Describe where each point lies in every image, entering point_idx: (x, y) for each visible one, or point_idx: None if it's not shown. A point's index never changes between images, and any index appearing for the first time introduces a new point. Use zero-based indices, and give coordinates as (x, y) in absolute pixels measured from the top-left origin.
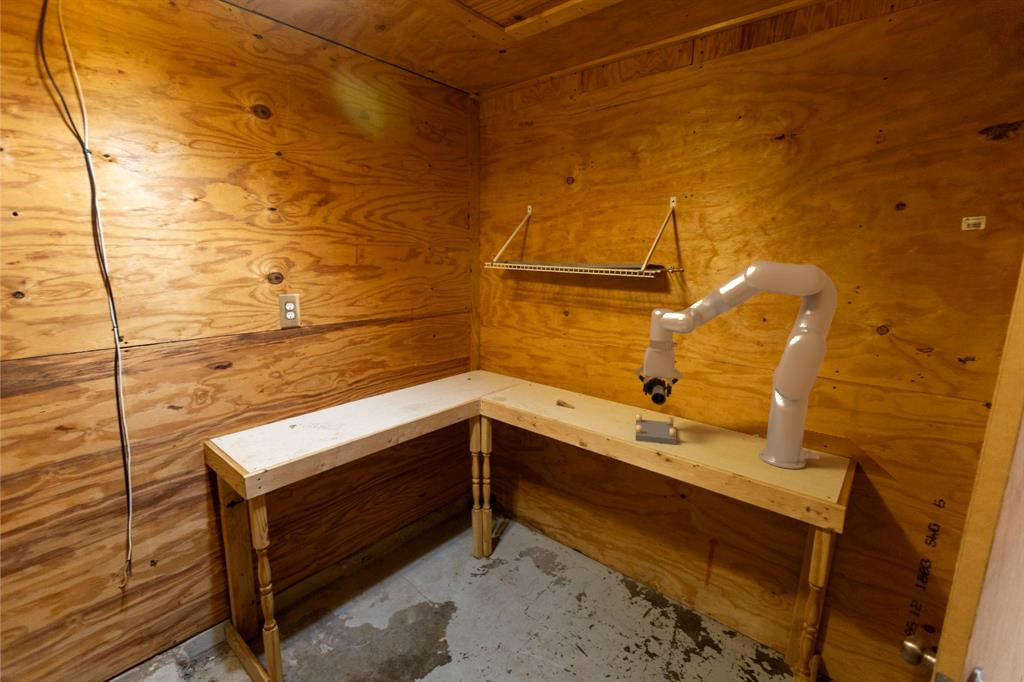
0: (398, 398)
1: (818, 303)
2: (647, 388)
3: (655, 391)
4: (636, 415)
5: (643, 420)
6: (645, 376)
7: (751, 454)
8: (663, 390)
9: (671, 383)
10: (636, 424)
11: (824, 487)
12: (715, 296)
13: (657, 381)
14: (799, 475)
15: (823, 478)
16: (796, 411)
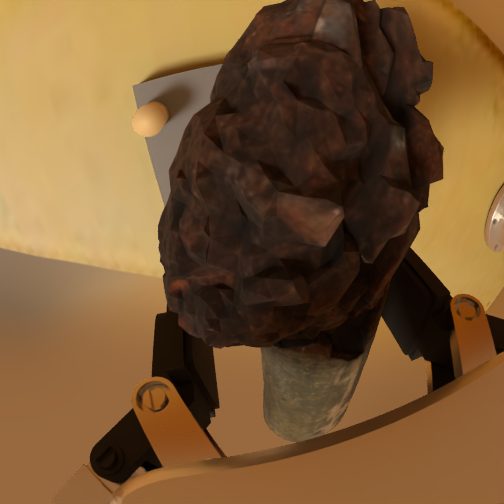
0: None
1: None
2: (215, 377)
3: (294, 432)
4: (134, 129)
5: (173, 86)
6: (169, 459)
7: (481, 206)
8: (353, 388)
9: (449, 363)
10: (154, 162)
11: (500, 281)
12: None
13: (333, 312)
14: (498, 261)
15: None
16: None
